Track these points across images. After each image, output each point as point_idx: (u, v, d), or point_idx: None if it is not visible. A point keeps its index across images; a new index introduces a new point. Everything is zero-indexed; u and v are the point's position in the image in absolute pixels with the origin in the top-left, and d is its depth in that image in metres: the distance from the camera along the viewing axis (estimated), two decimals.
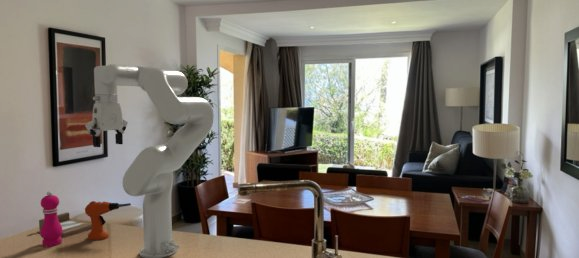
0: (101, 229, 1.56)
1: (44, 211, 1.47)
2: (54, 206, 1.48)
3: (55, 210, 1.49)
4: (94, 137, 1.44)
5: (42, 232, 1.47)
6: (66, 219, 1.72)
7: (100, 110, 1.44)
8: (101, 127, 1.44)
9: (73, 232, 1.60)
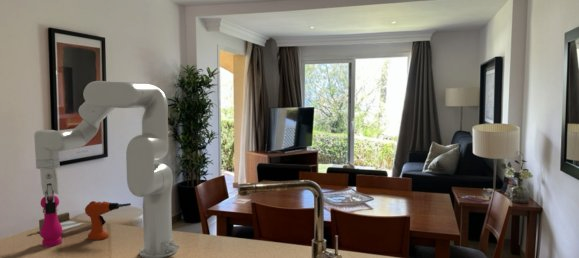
0: (101, 229, 1.56)
1: (44, 211, 1.47)
2: None
3: None
4: (51, 204, 1.46)
5: (42, 232, 1.47)
6: (66, 219, 1.72)
7: (55, 174, 1.46)
8: (57, 191, 1.46)
9: (73, 232, 1.60)
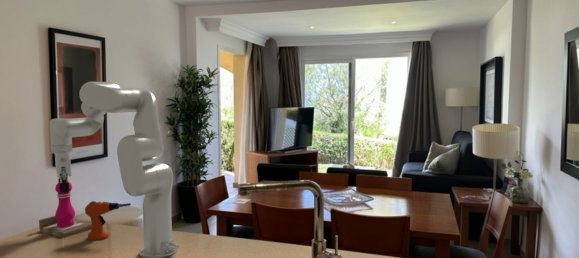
0: (101, 229, 1.56)
1: (58, 195, 1.62)
2: None
3: (68, 195, 1.64)
4: (65, 184, 1.59)
5: (57, 214, 1.62)
6: None
7: (69, 159, 1.61)
8: None
9: (73, 232, 1.60)
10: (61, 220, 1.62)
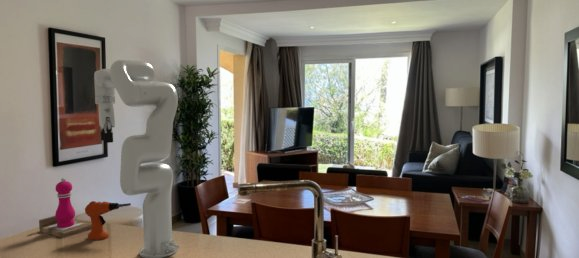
0: (101, 229, 1.56)
1: (59, 195, 1.62)
2: (68, 191, 1.63)
3: (68, 195, 1.64)
4: (109, 133, 1.63)
5: (57, 214, 1.62)
6: None
7: (113, 109, 1.64)
8: (114, 124, 1.65)
9: (73, 232, 1.60)
10: (61, 220, 1.62)
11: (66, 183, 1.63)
